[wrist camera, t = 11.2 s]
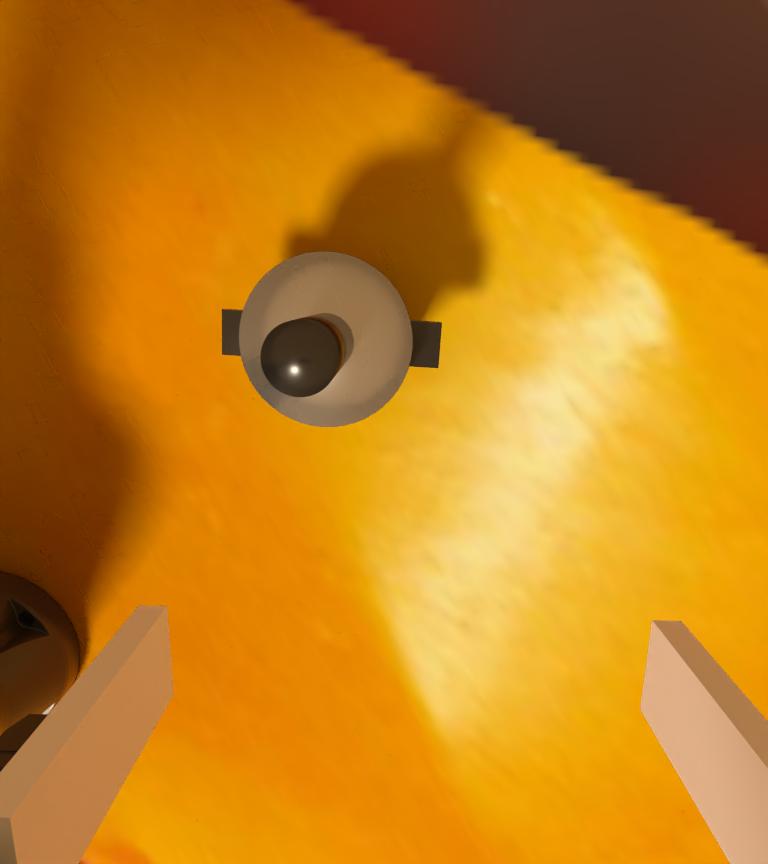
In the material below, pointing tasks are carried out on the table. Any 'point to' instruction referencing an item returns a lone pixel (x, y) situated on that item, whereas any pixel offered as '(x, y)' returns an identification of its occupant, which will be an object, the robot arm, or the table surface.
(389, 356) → the lid
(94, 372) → the table surface
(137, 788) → the table surface
